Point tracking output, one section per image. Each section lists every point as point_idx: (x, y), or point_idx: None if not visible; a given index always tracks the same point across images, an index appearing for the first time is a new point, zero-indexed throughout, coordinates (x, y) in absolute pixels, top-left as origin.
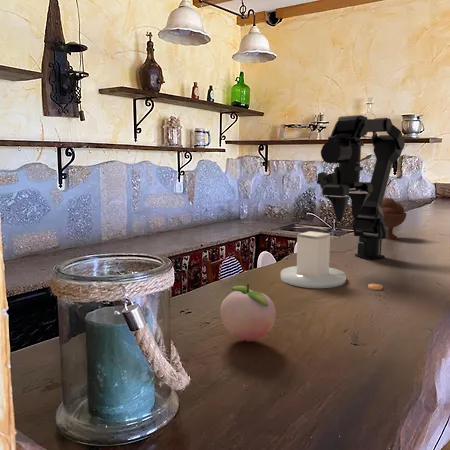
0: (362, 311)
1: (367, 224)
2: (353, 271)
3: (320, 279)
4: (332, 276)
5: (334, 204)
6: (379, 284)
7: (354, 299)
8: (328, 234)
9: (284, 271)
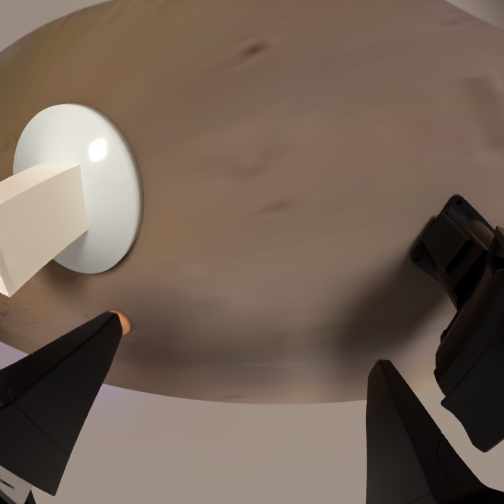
0: (38, 313)
1: (455, 351)
2: (212, 253)
3: None
4: (74, 248)
5: (5, 387)
6: (128, 329)
7: (54, 299)
8: (4, 293)
9: (32, 129)
